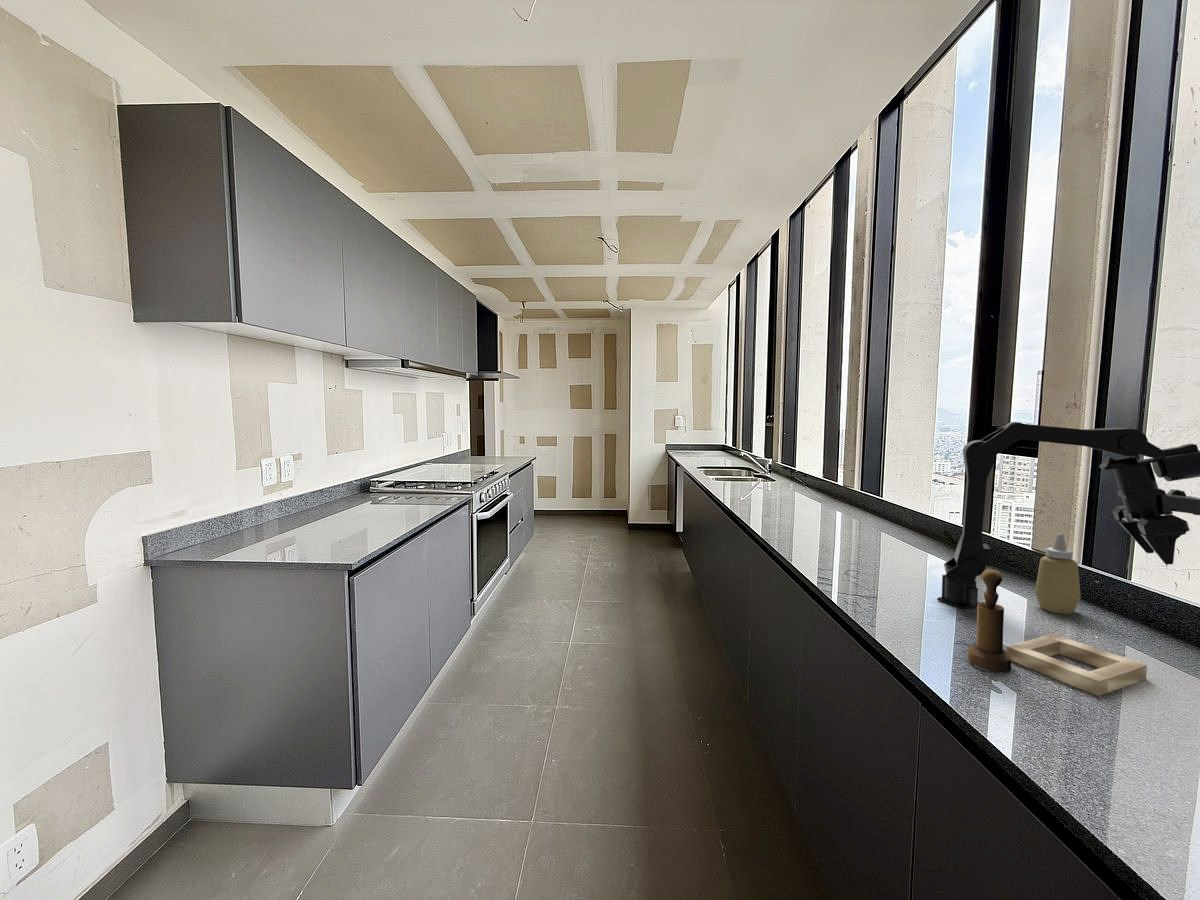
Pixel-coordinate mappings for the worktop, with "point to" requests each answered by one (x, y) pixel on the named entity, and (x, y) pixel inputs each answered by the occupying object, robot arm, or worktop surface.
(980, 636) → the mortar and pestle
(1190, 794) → the worktop surface
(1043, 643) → the frame
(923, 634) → the worktop surface
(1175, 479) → the robot arm
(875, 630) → the worktop surface
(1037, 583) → the squeeze bottle
